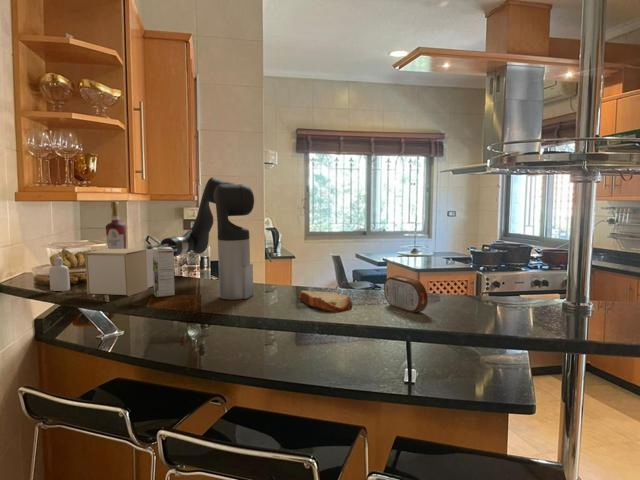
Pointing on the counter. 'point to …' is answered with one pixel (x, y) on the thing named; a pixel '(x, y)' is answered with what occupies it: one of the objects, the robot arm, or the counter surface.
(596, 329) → the counter surface
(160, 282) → the syrup box
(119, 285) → the plain white carton
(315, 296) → the slice of bread
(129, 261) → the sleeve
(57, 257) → the eye dropper bottle
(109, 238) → the liquor
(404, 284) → the tin
